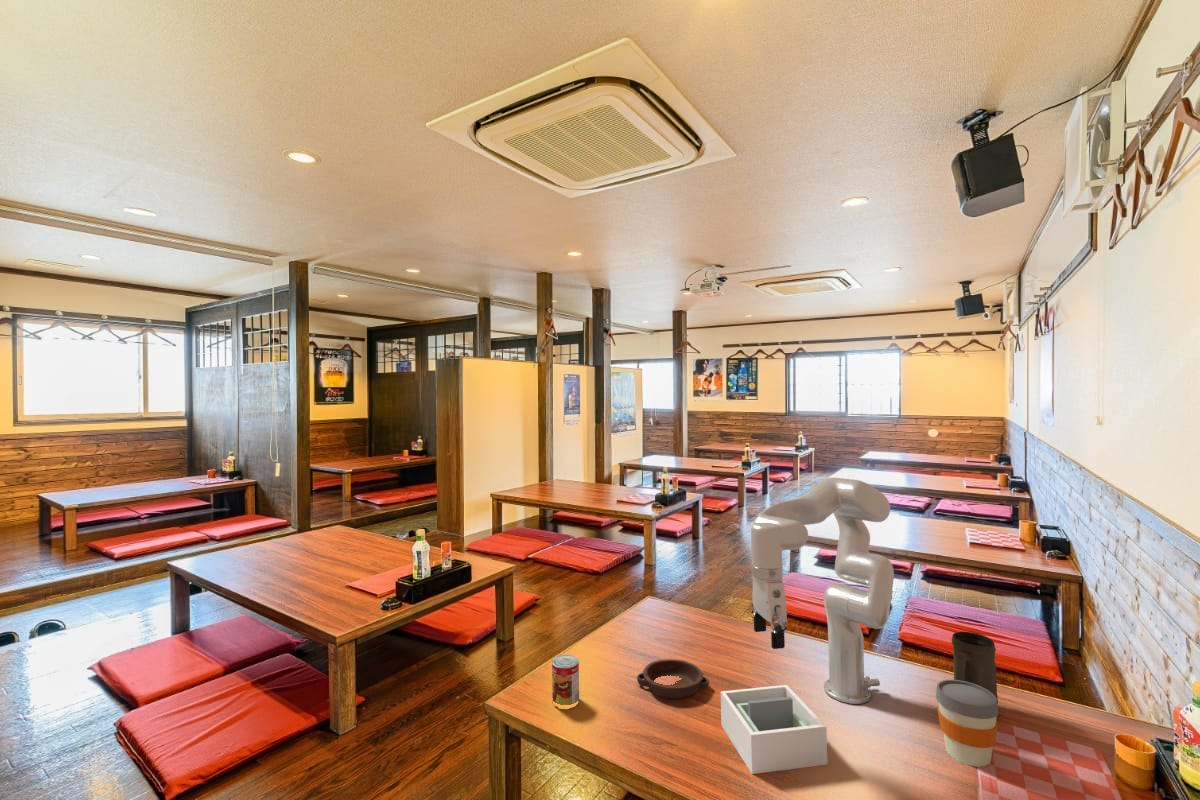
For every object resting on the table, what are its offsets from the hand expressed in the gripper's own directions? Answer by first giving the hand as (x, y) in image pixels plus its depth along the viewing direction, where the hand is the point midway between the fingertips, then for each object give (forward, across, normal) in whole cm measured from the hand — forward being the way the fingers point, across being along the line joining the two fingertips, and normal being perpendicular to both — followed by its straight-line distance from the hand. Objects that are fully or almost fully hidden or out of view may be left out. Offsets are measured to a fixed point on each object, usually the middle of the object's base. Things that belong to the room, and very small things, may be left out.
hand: (768, 639), depth 133 cm
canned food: (+26, +28, +50) cm, 63 cm away
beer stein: (+27, +3, -61) cm, 66 cm away
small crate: (+25, 0, 0) cm, 25 cm away
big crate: (+26, 0, 0) cm, 26 cm away
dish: (+27, +30, +17) cm, 44 cm away
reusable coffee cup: (+27, -12, -45) cm, 54 cm away
